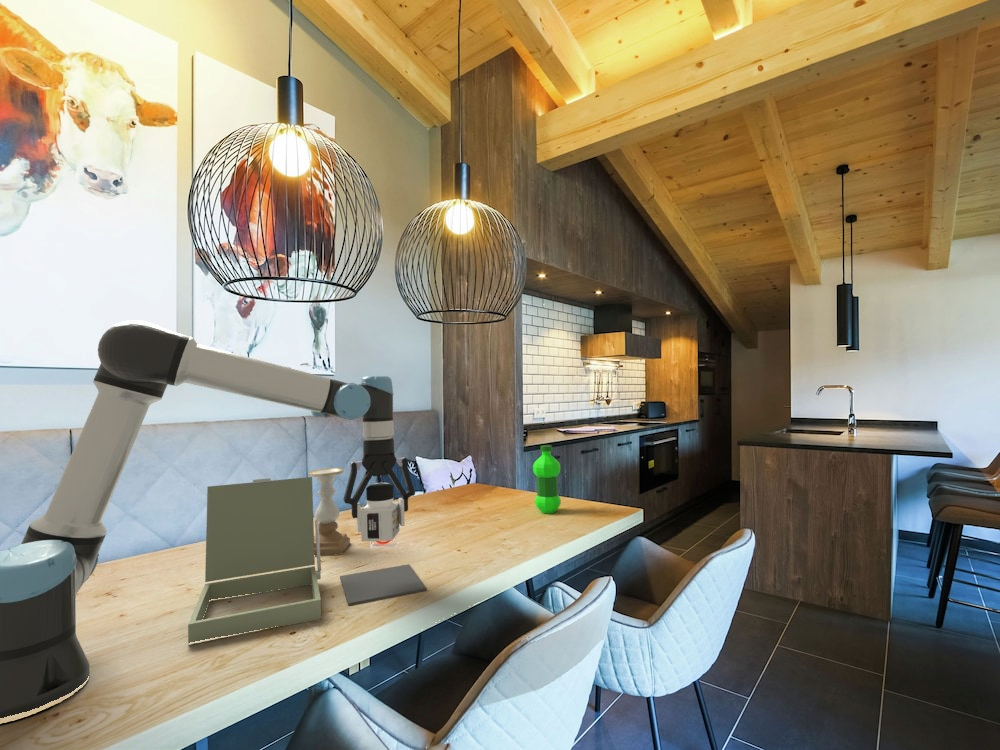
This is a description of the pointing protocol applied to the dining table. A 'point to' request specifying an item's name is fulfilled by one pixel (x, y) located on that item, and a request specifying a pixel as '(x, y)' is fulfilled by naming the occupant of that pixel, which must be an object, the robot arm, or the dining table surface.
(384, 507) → the container
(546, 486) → the plastic bottle
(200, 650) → the dining table surface
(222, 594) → the case
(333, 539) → the candle holder
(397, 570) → the mat
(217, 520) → the lid
